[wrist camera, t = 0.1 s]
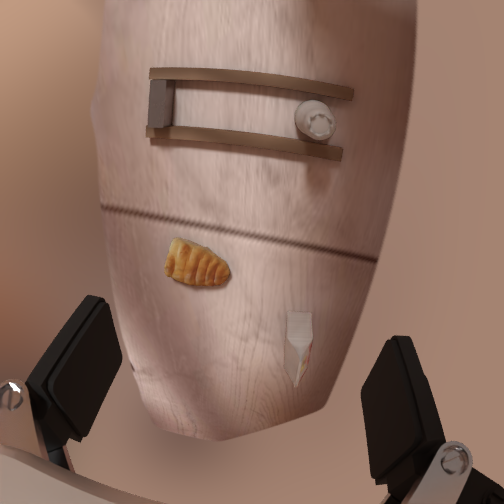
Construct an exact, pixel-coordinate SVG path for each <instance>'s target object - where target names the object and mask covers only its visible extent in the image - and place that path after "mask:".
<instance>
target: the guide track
mask: <svg viewBox="0 0 504 504" xmlns="http://www.w3.org/2000/svg"><path fill="white" fill-rule="evenodd" d="M149 79H181V80H207V81H223V82H235V83H246V84H255V85H263V86H271V87H279V88H285V89H292V90H298V91H304V92H310V93H315V94H321V95H326V96H331V97H335V98H340V99H344V100H349V101H352V98H353V92H354V89H352V88H347V87H343V86H338V85H334V84H329V83H324V82H319V81H314V80H308V79H302V78H296V77H290V76H283V75H276V74H268V73H260V72H251V71H240V70H228V69H211V68H176V67H169V68H150V73H149ZM146 137H149V138H167V139H181V140H194V141H205V142H215V143H225V144H233V145H242V146H250V147H257V148H265V149H272V150H278V151H285V152H291V153H297V154H303V155H309V156H314V157H320V158H325V159H330V160H336V161H341V157H342V152H343V149H342V148H340V147H335V146H330V145H325V144H320V143H315V142H309V141H303V140H297V139H291V138H285V137H278V136H272V135H264V134H257V133H249V132H241V131H232V130H222V129H212V128H200V127H187V126H171V125H170V126H167V127H165V128H151V127H148V125H147V126H146Z"/></svg>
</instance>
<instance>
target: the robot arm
mask: <svg viewBox="0 0 504 504" xmlns="http://www.w3.org/2000/svg"><path fill="white" fill-rule="evenodd" d="M121 363H122V353H121V349H120V346H119V342H118V338H117V335H116V331H115V327H114V323H113V319H112V315H111V311H110V307H109V304H108V303H106V302H105V299H104V298H101V297H97V296H92V295H87V296H86V297H85V298H84V300H83V301H82V302H81V304H80V305H79V306H78V308H77V309H76V310H75V312H74V313H73V314H72V316H71V317H70V318H69V320H68V321H67V322H66V324H65V325H64V326H63V328H62V329H61V330H60V332H59V333H58V335H57V336H56V337H55V339H54V340H53V342H52V343H51V345H50V346H49V347H48V349H47V350H46V352H45V353H44V355H43V356H42V357H41V359H40V360H39V362H38V363H37V365H36V366H35V368H34V369H33V371H32V372H31V374H30V375H29V377H28V379H27V381H26V382H25V384H24V383H23V382H21V381H20V380H16V379H10V380H7V381H4V382H3V383H1V384H0V504H165V503H162V502H158V501H154V500H150V499H147V498H143V497H140V496H137V495H133V494H130V493H127V492H124V491H121V490H118V489H115V488H112V487H109V486H107V485H104V484H101V483H99V482H96V481H93V480H91V479H88V478H86V477H83V476H81V475H78V474H76V473H75V470H74V468H73V465H72V462H71V459H70V456H69V453H68V450H67V447H66V443H67V441H68V439H69V438H71V439H73V440H75V441H78V442H81V440H82V438H83V437H86V436H87V435H88V434H89V431H90V429H91V427H92V425H93V422H94V420H95V418H96V416H97V414H98V412H99V409H100V407H101V405H102V403H103V401H104V399H105V397H106V394H107V392H108V390H109V388H110V386H111V384H112V382H113V380H114V378H115V376H116V373H117V372H118V370H119V368H120V365H121ZM361 401H362V408H363V415H364V422H365V430H366V437H367V446H368V455H369V464H370V473H371V477H372V478H373V479H375V483H376V485H382V484H387V486H388V494H387V495H386V496H385V498H384V499H383V501H382V502H381V503H380V504H504V489H503V487H501V486H500V485H499V484H497V483H495V482H494V481H493V480H491V479H490V478H488V477H486V476H485V475H483V474H482V473H480V472H479V471H477V470H476V469H474V468H473V467H472V464H473V460H472V455H471V452H470V451H469V449H468V448H467V447H466V446H465V445H464V444H463V443H460V442H457V441H450V442H446V440H445V436H444V432H443V429H442V425H441V421H440V418H439V414H438V411H437V408H436V404H435V401H434V398H433V395H432V392H431V389H430V386H429V383H428V380H427V378H426V376H425V375H424V373H423V370H422V367H421V364H420V361H419V358H418V356H417V353H416V350H415V347H414V345H413V342H412V339H411V338H410V337H409V336H393V337H392V338H391V339H390V340H387V341H386V343H385V345H384V347H383V349H382V351H381V353H380V355H379V357H378V358H377V360H376V363H375V364H374V366H373V368H372V370H371V372H370V374H369V376H368V378H367V379H366V381H365V383H364V385H363V386H362V389H361Z"/></svg>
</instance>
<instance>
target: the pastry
mask: <svg viewBox="0 0 504 504" xmlns="http://www.w3.org/2000/svg"><path fill="white" fill-rule="evenodd" d="M164 268H165V270H164V272H165V274H166V275H167V276H168V277H171V278H173V279H175V280H177V281H179V282H183V283H186V284H188V285H196V286H201V285H202V286H214V285H221V284H222V283H224V282H225V281H226V280H227V278H228V277H229V274H230V270H229V268H228V265H227V263H226V261H224V260H223V259H221V258H220V257H218V256H217V255H216V254H215V253H213V252H212V251H211V250H210V249H209V248H208V247H203V246H201V245H199V244H196V243H194V242H192V241H189V240H186V239H182V238H174V239H173V240H172V243H171V245H170V249H169V253H168V256H167V259H166V263H165V266H164Z"/></svg>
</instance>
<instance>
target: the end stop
mask: <svg viewBox="0 0 504 504" xmlns="http://www.w3.org/2000/svg"><path fill="white" fill-rule="evenodd" d="M174 87H175V80H150V93H149V109H148V127H151V128H165V127H167V126H170V125H172V112H173V99H174Z"/></svg>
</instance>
